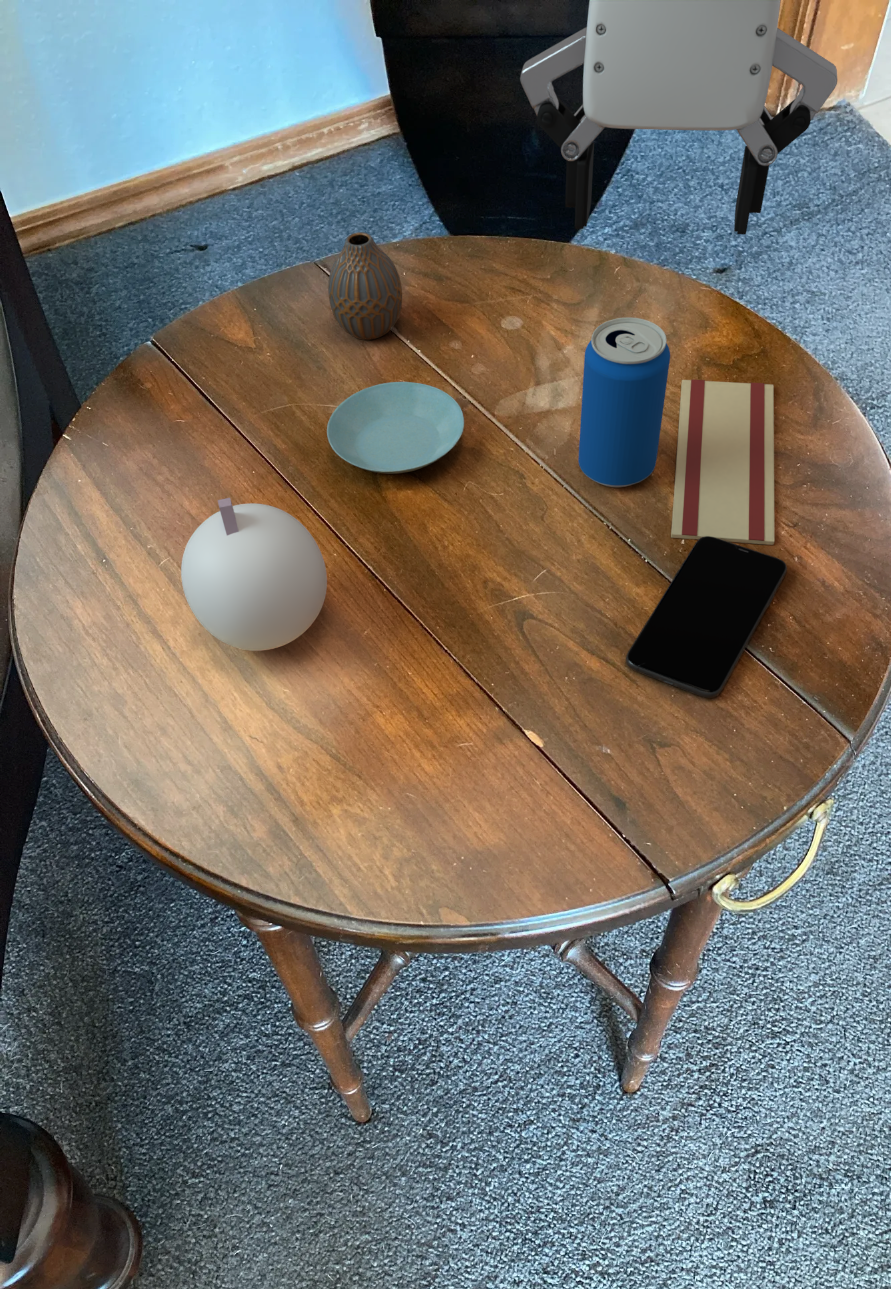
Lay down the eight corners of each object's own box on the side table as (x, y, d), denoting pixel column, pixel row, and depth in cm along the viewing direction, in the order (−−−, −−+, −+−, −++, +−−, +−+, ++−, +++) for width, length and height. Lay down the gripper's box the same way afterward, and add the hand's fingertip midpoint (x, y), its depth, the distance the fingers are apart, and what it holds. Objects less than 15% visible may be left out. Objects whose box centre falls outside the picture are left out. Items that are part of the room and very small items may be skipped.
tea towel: (772, 388, 96) (773, 383, 95) (773, 545, 85) (774, 540, 84) (681, 383, 97) (682, 378, 96) (670, 537, 86) (671, 533, 86)
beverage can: (612, 432, 93) (623, 303, 84) (670, 465, 91) (690, 336, 81) (562, 469, 91) (567, 341, 81) (620, 504, 88) (634, 376, 78)
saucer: (414, 509, 89) (412, 487, 87) (303, 461, 93) (298, 440, 92) (490, 429, 95) (490, 407, 93) (382, 388, 99) (379, 366, 97)
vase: (409, 307, 106) (401, 218, 98) (400, 349, 102) (391, 260, 95) (339, 306, 106) (327, 218, 99) (328, 348, 102) (314, 259, 95)
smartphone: (715, 705, 76) (790, 569, 83) (717, 697, 76) (792, 560, 82) (619, 668, 79) (700, 538, 85) (620, 660, 78) (701, 531, 85)
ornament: (177, 620, 84) (132, 499, 74) (288, 559, 87) (259, 435, 77) (246, 699, 79) (207, 581, 69) (360, 632, 82) (339, 510, 72)
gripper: (879, -162, 53) (804, 193, 67) (531, -155, 56) (529, 185, 70) (887, -107, 49) (805, 258, 63) (510, -103, 52) (513, 248, 66)
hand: (660, 220), depth 66 cm, fingers open, 9 cm apart
